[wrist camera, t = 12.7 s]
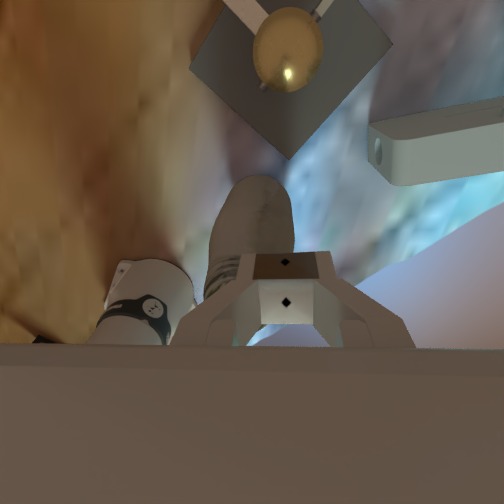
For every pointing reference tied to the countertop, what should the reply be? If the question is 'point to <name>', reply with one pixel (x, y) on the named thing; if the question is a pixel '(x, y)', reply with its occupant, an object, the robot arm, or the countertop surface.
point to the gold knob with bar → (282, 44)
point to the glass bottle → (248, 228)
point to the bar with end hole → (439, 143)
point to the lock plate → (309, 96)
